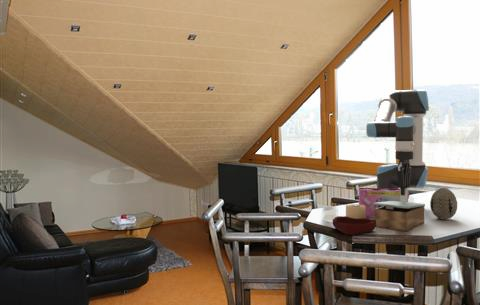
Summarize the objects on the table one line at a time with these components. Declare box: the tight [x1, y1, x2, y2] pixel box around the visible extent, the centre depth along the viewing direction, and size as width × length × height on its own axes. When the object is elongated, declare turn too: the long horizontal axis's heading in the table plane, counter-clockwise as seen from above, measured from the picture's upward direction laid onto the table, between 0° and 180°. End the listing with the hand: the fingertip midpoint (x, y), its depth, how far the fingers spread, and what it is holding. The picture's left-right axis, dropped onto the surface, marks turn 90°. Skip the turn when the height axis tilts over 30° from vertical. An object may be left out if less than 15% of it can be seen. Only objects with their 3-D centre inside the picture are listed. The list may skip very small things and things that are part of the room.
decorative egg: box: [429, 187, 458, 220], centre depth 203 cm, size 12×12×15 cm
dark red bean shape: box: [332, 215, 377, 236], centre depth 180 cm, size 18×16×5 cm
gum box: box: [358, 187, 410, 218], centre depth 211 cm, size 24×8×14 cm, turn 76°
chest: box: [374, 206, 425, 233], centre depth 191 cm, size 14×22×8 cm, turn 139°
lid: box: [374, 201, 426, 209], centre depth 190 cm, size 15×23×2 cm, turn 138°
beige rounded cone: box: [345, 203, 366, 219], centre depth 202 cm, size 9×9×7 cm
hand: (403, 202), depth 194 cm, fingers closed
